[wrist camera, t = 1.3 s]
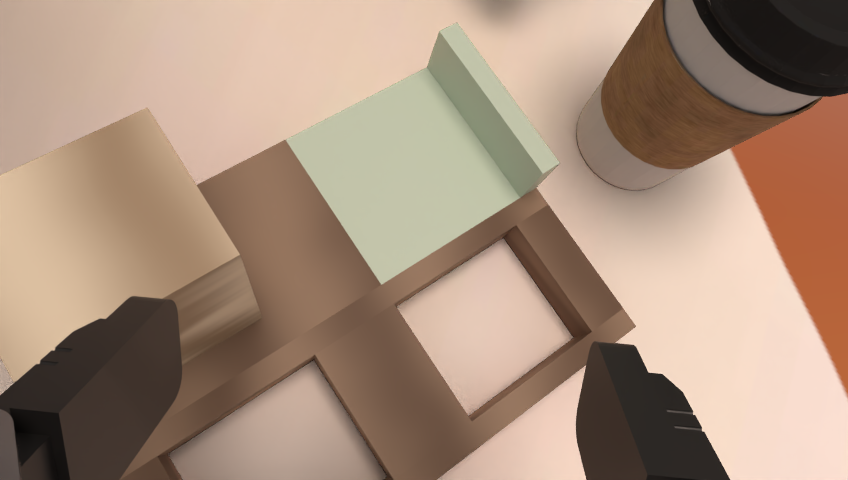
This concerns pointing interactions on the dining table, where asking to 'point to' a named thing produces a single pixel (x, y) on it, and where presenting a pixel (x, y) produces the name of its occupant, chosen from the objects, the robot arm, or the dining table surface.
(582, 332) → the brown wooden flat frame
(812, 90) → the coffee cup
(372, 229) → the green l-shaped block
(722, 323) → the dining table surface
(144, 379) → the robot arm
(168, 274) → the maple block
